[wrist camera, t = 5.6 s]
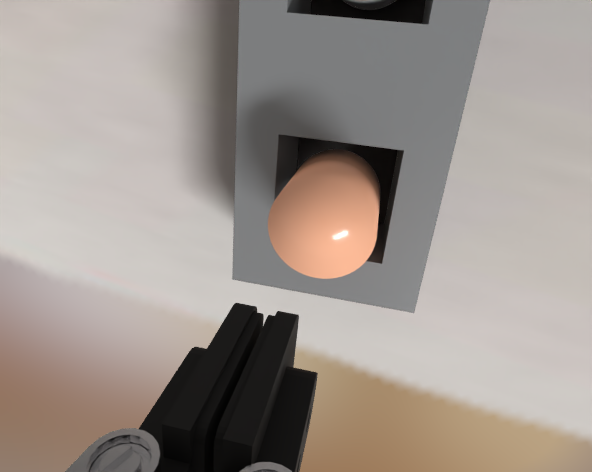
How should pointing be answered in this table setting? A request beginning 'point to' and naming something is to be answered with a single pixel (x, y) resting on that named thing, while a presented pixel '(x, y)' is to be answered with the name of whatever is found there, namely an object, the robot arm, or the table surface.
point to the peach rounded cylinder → (327, 215)
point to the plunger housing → (350, 128)
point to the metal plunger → (369, 4)
